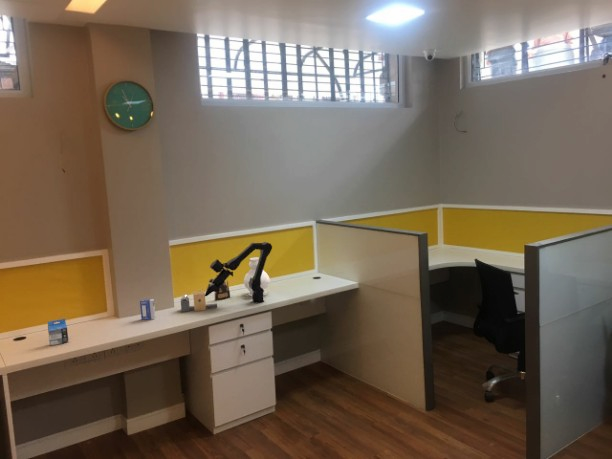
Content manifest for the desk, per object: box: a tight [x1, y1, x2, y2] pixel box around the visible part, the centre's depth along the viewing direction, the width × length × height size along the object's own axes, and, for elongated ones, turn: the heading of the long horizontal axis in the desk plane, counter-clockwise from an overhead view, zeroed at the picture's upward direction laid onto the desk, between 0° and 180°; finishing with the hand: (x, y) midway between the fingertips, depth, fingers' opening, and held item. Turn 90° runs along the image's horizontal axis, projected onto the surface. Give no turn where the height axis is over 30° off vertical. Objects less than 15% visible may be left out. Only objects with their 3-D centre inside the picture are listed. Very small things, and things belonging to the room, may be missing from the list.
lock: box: [192, 290, 207, 312], centre depth 335 cm, size 7×8×10 cm
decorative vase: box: [243, 256, 271, 297], centre depth 364 cm, size 18×18×25 cm
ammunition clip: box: [214, 280, 231, 302], centre depth 357 cm, size 11×2×12 cm, turn 125°
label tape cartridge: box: [47, 318, 69, 347], centre depth 282 cm, size 9×4×12 cm, turn 121°
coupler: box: [180, 294, 218, 313], centre depth 335 cm, size 22×7×10 cm, turn 103°
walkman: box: [139, 298, 157, 321], centre depth 319 cm, size 8×3×12 cm, turn 91°
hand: (205, 295), depth 335 cm, fingers closed
